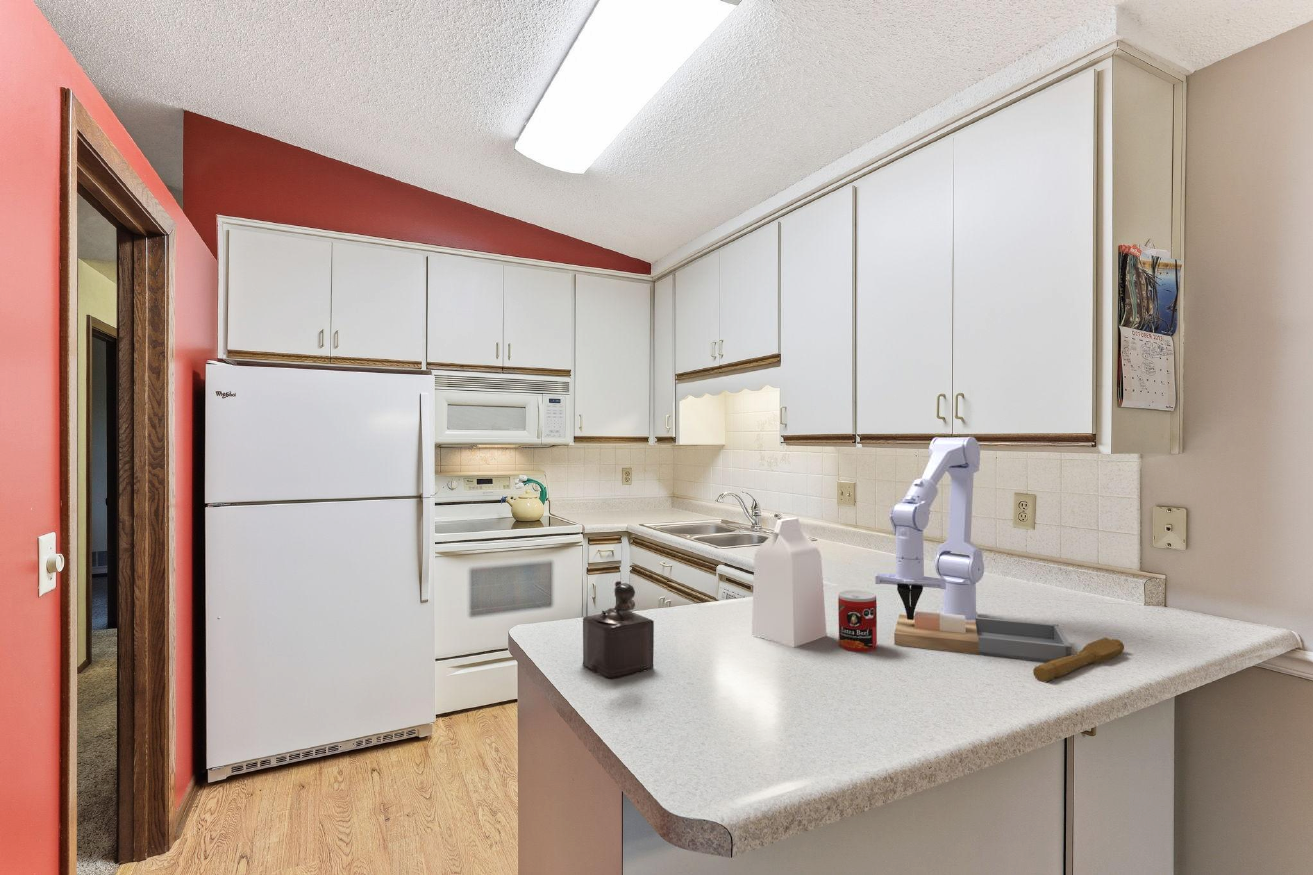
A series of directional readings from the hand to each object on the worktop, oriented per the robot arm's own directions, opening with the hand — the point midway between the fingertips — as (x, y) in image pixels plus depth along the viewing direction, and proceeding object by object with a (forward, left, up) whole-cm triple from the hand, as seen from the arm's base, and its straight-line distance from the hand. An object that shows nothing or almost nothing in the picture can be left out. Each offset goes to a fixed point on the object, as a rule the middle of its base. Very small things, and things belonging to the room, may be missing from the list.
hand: (910, 618), depth 143 cm
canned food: (+12, -10, -4) cm, 16 cm away
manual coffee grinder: (+44, -49, -4) cm, 66 cm away
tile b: (0, +8, -1) cm, 8 cm away
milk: (+10, -25, -4) cm, 27 cm away
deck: (0, +5, -4) cm, 6 cm away
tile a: (0, +4, -1) cm, 4 cm away
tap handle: (+7, +30, -4) cm, 31 cm away
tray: (0, +21, -4) cm, 22 cm away
